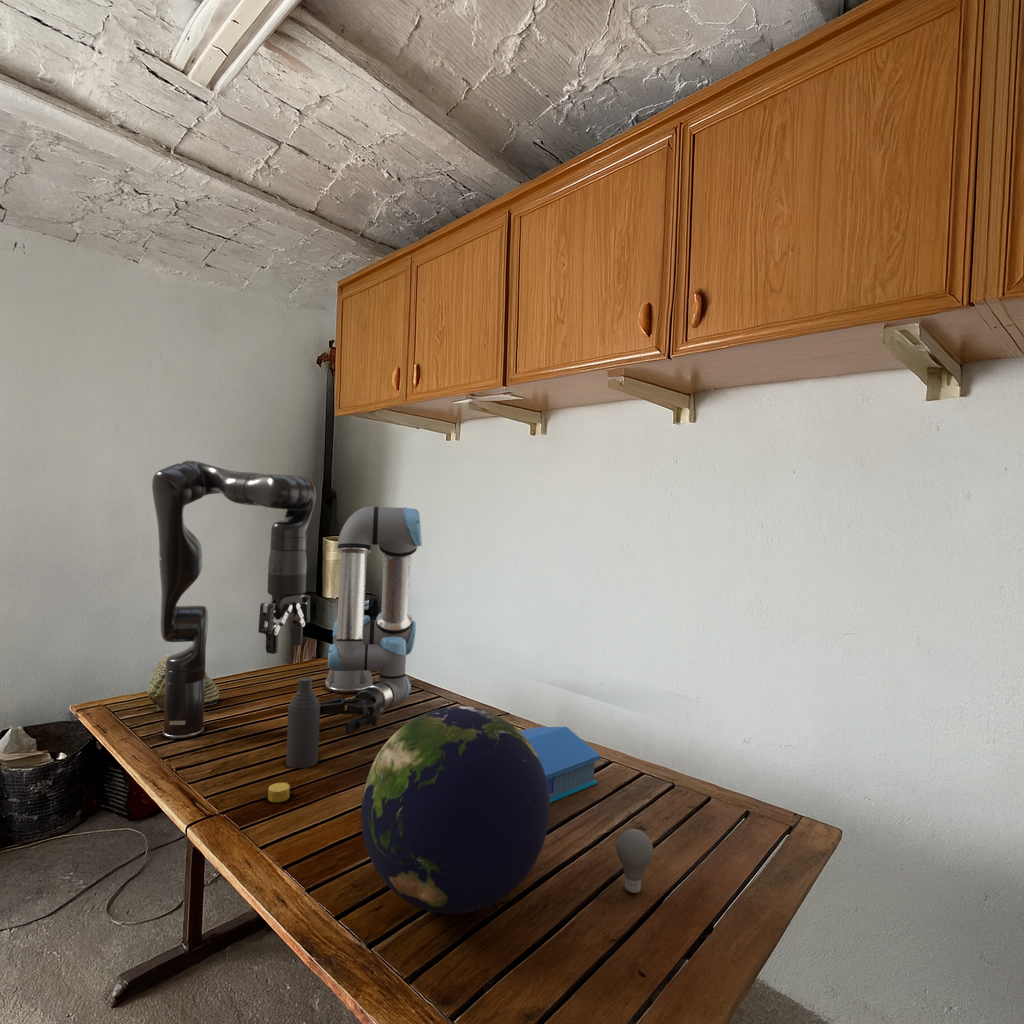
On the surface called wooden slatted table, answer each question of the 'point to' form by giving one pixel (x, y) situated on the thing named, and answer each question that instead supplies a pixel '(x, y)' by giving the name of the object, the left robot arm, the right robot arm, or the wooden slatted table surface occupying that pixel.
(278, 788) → the cap
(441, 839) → the globe
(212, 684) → the fossil
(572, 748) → the model building
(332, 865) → the wooden slatted table surface
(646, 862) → the light bulb
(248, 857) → the wooden slatted table surface
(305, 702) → the bottle
